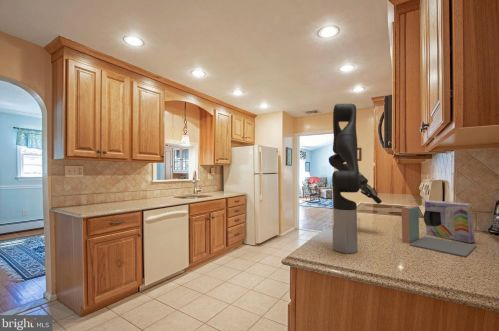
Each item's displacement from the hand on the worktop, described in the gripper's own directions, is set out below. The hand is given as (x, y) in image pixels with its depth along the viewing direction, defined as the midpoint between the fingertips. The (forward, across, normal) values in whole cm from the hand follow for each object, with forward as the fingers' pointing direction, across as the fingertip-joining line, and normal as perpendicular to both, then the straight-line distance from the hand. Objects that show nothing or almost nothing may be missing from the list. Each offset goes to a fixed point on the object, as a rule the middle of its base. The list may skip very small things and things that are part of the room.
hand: (380, 202), depth 123 cm
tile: (+21, 0, +2) cm, 21 cm away
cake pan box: (+28, +18, -5) cm, 34 cm away
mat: (+30, 0, -6) cm, 30 cm away
